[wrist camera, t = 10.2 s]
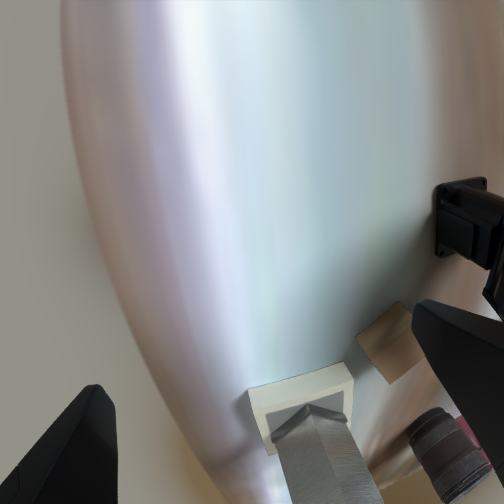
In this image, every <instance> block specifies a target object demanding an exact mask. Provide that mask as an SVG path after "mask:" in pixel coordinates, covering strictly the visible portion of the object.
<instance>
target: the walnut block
mask: <svg viewBox="0 0 504 504" xmlns="http://www.w3.org/2000/svg"><path fill="white" fill-rule="evenodd" d="M411 320H412V315H411V314H410V313H409V312H408V311H407V310H406V309H405V308H404V307H403V306H402V305H401V304H400V303H399V302H397V303H396V304H394V305H393V306H392V307H391V308H390V309H389V310H387V311H386V312H385V313H384V314H383V315H382V316H380V317H379V318H378V319H377V320H376V321H374V322H373V323H372V324H371V325H369V326H368V327H367V328H366V329H364V330H363V331H362V332H361V333H359V334H358V335H357V336H356V337H354V338H355V339H356V341H357V342H358V343H359V345H360V346H361V348H362V349H363V351H364V352H365V354H366V355H367V357H368V358H369V360H370V361H371V362H372V364H373V365H374V366H375V367H376V368H377V370H378V371H379V372H380V373H381V374H382V376H383V377H384V378H385V379H386V381H387V382H388V383H389V384H392V383H393V382H394V381H396V380H397V379H398V378H399V377H401V376H402V375H403V374H404V373H406V372H407V371H408V370H409V369H411V368H412V367H413V366H414V365H415V364H417V363H418V362H419V361H420V360H421V359H423V358H424V357H425V355H424V353H423V351H422V349H421V347H420V345H419V344H418V342H417V340H416V338H415V336H414V335H413V333H412V330H411Z"/></svg>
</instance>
